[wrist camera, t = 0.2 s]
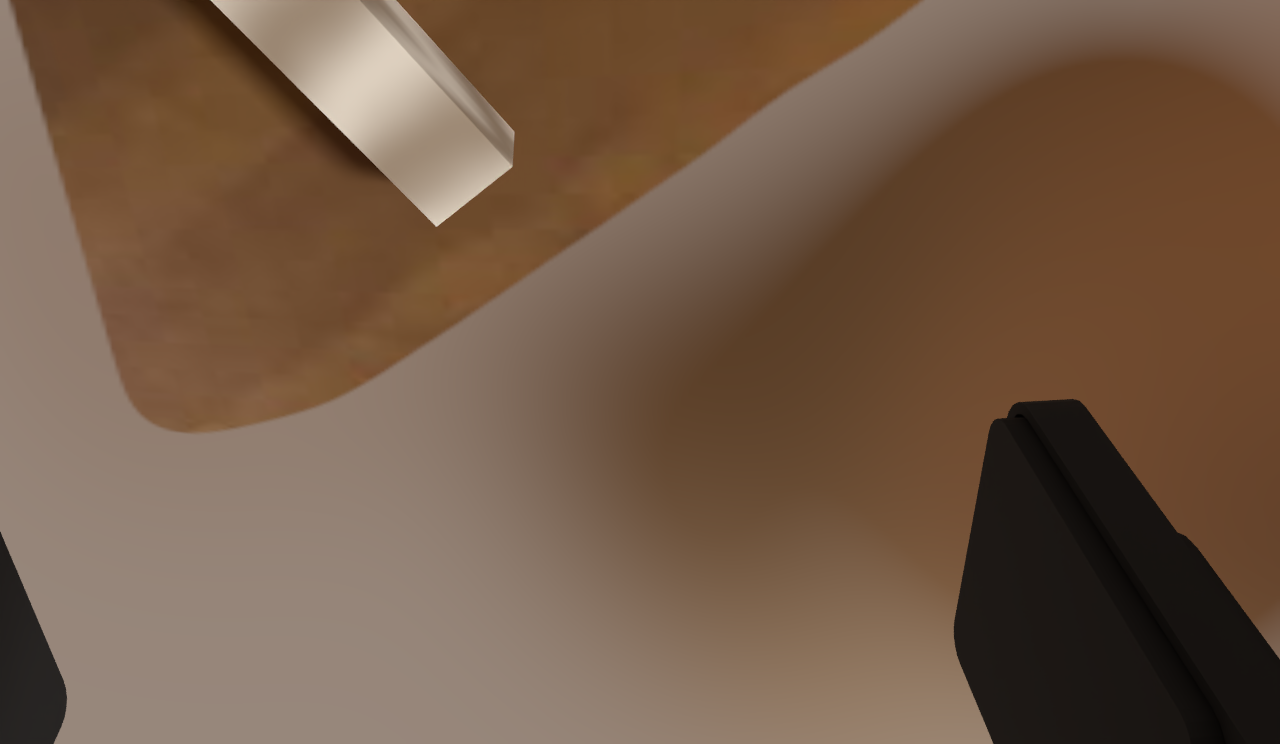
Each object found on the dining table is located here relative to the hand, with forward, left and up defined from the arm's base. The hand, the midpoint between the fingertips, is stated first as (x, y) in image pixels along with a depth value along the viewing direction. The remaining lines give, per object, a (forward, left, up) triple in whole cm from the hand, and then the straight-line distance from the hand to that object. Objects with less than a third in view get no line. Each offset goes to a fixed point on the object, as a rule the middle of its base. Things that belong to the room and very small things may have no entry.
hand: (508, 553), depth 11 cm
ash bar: (-2, -9, -37) cm, 38 cm away
